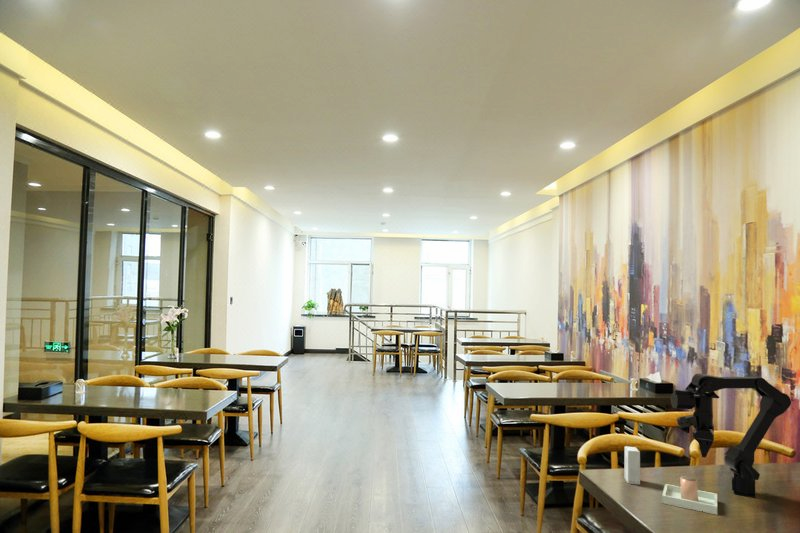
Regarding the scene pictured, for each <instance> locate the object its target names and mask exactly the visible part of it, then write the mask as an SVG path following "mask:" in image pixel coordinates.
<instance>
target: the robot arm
mask: <svg viewBox="0 0 800 533" xmlns="http://www.w3.org/2000/svg"><path fill="white" fill-rule="evenodd" d="M724 389H753V390H755V391H756V393H757V394H758V395H759V396H760V397H761V399H760V400H759V408H760V409H759V412H758V413H757V415H756V416H755V418H754V420H753V422H751V424H750V426H749V428H748V429H747V431H746V432H745V434H744V436H743V437H742V439H741V441H740V443H739V444H737V445H732V444H730V445H729V447H728V449H727V450H726V451H725V453H724V462H725V464H726V466H728V468H729V470H730V471H731V472H732V474H733V476H731V491H733V494H734V495H739V496H743V497H749V498H754V499H756V498H757V494H756V481H758V480H759V479H760V476H761V474H760V473H759V472H758V470H756V469H755V468H754V464H755V452H756V451H757V449H758V447H759V446H760V444H761V442H762V441H763V439H764V437H765V436H766V434H767V433H768V431H769V429H770V427H771V426H772V424H773V423H774V421H775V420H776V419H777V417H780V416H782V415H783V414H784V413H786V412H787V410H789V408H790V407H791V405H792V400H791V398H790V396H789V395H788V394H787V393H785V392H781V390H780V389H778V388H776V387H775V386H774V385H772V384H770V383H769V382H768V381H767V380H766V379H765V378H763V377H759V376H756V375H752V376H715V375H711V374H705V373H696V374H694V375H693V376H692V379H691V381H690V382H689V384H688V385H687V387H686V388H685V389H674V388H673V392H672V393H671V395H670V404H671V406H672V407H671V408H673V409H674V410H675V409H676V410H692V409H694V410H693V414H689V415H683V416H679V417H676V422H677V425H678V427H679V429H684V428H688V427H691V426H692V427H693V430H692V438H693V439H694V440H695V442H697V443H698V445H699V446H698V447H699V451H700V454H701V457H702V458H706V457H707V455H708V453H709V451H710V449H711V447H712V445H713V444H714V441H715V432H714V431H715V424H714V410H713V409H714V408H713V407H714V402H713V401H714V400H713V399H720V396H719V395H718V394H717V393H716V392H717V391H720V390H724Z"/></svg>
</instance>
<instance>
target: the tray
mask: <svg viewBox="0 0 800 533" xmlns="http://www.w3.org/2000/svg"><path fill="white" fill-rule="evenodd" d="M661 503H662V504H665V505H670V506H674V507H679V508H684V509H688V510H692V511H693V510H694V511H698V512H702V511H703V512H702V513H707V514H712V515H718V493H716V492H715V493H714V492H709V491H704V490H700V489H698V502H696V501H691V500H686V499H681V486H678V485H673V484H668V483H664V487H663V491H662V495H661Z"/></svg>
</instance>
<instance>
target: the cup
mask: <svg viewBox="0 0 800 533" xmlns="http://www.w3.org/2000/svg"><path fill="white" fill-rule="evenodd" d="M679 478H680V487H681V499H686V500H691V501H696V502H698V490H699V484H698V479H697V478H695V477H693V476H689V475H688V476H686V475H684V476H683V475H682V476H680V477H679Z"/></svg>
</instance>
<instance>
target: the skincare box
mask: <svg viewBox="0 0 800 533" xmlns="http://www.w3.org/2000/svg"><path fill="white" fill-rule="evenodd" d="M623 475H624V476H623V477H624V480H625V481H626V483H627V484H630V485H638V486H639V485H641V452H640V450H639V449H638V448H637V446H636V447H635V446H627V445H625V446H624V474H623Z"/></svg>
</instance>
